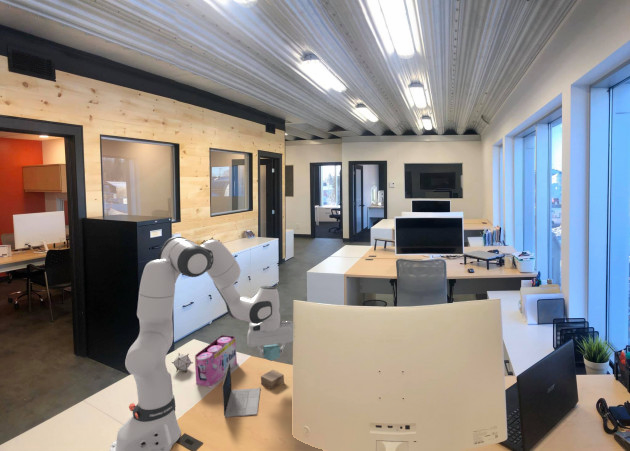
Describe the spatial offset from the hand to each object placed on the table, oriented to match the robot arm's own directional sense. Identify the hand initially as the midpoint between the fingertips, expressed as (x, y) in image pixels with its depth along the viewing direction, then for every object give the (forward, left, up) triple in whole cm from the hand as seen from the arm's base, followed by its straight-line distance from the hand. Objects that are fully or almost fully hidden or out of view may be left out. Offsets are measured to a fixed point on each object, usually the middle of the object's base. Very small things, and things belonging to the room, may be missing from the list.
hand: (271, 353), depth 165 cm
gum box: (-15, +24, -14) cm, 32 cm away
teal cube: (0, 0, -2) cm, 2 cm away
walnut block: (0, 0, -14) cm, 14 cm away
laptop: (-17, -4, -14) cm, 22 cm away
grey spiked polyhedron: (-27, +37, -14) cm, 48 cm away
